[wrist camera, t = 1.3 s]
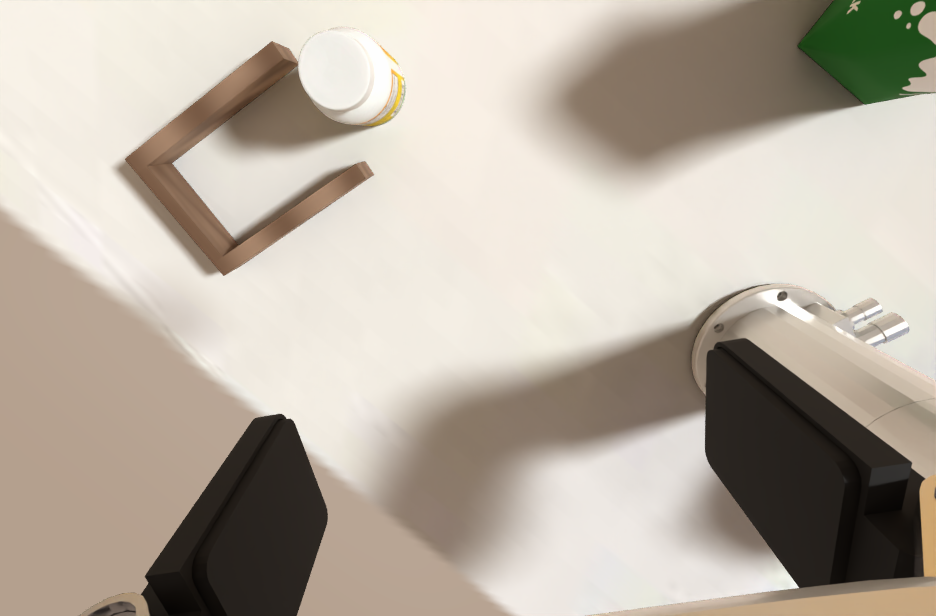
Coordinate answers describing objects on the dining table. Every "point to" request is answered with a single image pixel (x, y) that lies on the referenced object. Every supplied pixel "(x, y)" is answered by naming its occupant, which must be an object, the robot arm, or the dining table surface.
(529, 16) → the dining table surface
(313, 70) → the supplement bottle
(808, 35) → the milk carton
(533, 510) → the dining table surface
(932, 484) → the robot arm
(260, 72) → the u rest
